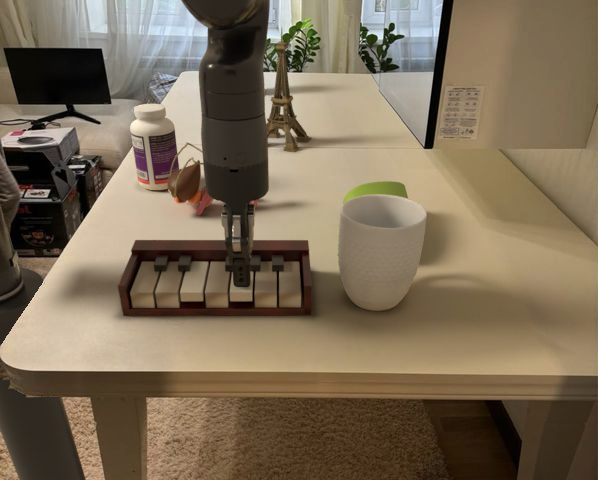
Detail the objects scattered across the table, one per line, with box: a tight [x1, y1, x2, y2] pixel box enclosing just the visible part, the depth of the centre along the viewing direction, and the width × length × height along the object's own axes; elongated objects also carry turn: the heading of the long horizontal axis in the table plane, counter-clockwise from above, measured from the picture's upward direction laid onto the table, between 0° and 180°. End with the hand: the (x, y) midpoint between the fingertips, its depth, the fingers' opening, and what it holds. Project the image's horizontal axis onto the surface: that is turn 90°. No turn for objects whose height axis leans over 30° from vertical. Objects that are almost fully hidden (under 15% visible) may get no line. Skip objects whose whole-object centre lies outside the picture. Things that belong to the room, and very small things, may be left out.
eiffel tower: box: [266, 28, 312, 153], centre depth 131 cm, size 11×11×25 cm
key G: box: [230, 271, 254, 301], centre depth 81 cm, size 3×8×1 cm, turn 2°
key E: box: [180, 261, 209, 301], centre depth 81 cm, size 3×8×1 cm, turn 2°
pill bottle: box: [129, 103, 180, 191], centre depth 112 cm, size 8×8×14 cm
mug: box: [337, 194, 428, 312], centre depth 80 cm, size 15×11×13 cm
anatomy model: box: [167, 142, 259, 216], centre depth 105 cm, size 10×14×15 cm
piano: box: [117, 239, 313, 317], centre depth 82 cm, size 25×12×5 cm, turn 92°
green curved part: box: [341, 180, 409, 206], centre depth 97 cm, size 8×12×20 cm
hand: (242, 284), depth 79 cm, fingers closed
